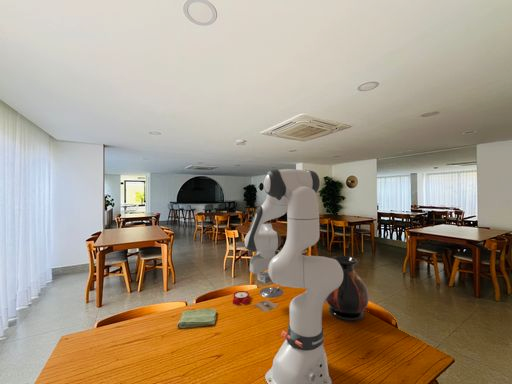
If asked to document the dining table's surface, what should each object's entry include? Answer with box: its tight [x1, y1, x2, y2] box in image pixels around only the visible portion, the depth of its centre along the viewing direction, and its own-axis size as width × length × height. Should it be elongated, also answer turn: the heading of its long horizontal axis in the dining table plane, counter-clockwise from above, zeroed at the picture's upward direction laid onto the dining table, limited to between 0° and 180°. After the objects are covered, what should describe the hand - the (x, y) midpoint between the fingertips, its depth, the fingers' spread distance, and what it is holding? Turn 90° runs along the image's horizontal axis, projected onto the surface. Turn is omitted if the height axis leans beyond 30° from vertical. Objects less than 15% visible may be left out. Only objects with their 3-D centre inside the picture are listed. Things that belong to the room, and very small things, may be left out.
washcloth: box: [176, 308, 217, 329], centre depth 105 cm, size 13×18×3 cm
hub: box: [259, 285, 284, 299], centre depth 133 cm, size 15×15×4 cm
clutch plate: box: [256, 271, 272, 284], centre depth 117 cm, size 6×8×3 cm
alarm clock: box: [232, 290, 251, 306], centre depth 123 cm, size 10×6×15 cm
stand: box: [253, 299, 279, 313], centre depth 116 cm, size 10×10×2 cm
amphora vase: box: [325, 255, 370, 323], centre depth 109 cm, size 22×22×28 cm
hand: (265, 278), depth 117 cm, fingers closed on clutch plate, 6 cm apart
